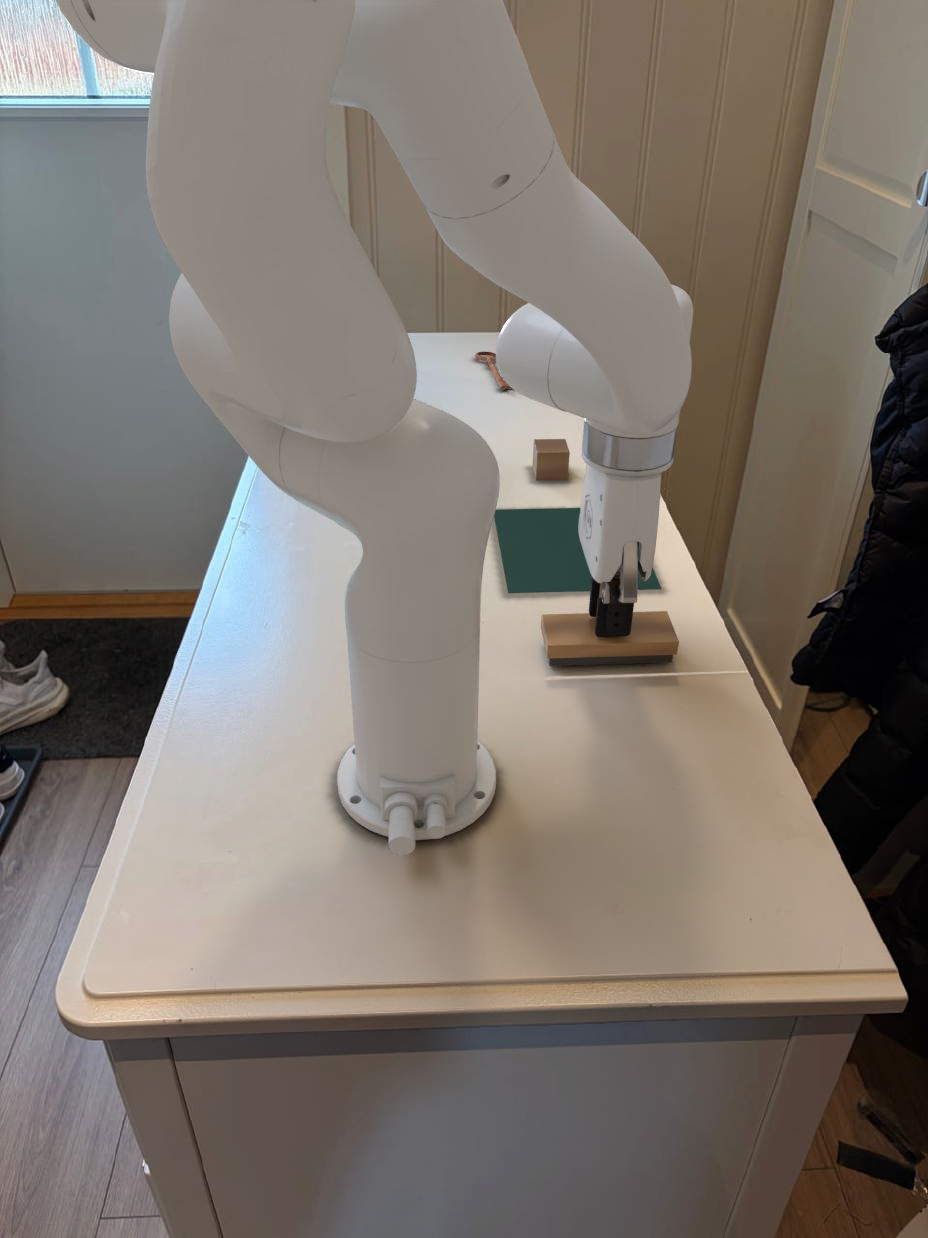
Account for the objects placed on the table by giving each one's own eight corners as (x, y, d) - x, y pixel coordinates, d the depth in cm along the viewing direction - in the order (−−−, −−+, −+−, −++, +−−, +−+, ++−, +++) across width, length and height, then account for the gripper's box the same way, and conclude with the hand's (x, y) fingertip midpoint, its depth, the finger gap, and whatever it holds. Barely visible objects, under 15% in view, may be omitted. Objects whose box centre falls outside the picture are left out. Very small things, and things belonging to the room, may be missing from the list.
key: (527, 391, 148) (507, 356, 160) (528, 385, 148) (508, 350, 160) (489, 390, 147) (472, 354, 159) (490, 384, 146) (473, 349, 159)
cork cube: (567, 481, 123) (569, 452, 121) (535, 482, 123) (537, 452, 121) (563, 467, 126) (565, 438, 124) (532, 468, 126) (533, 439, 124)
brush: (675, 663, 91) (688, 586, 86) (546, 667, 90) (551, 589, 86) (664, 632, 95) (675, 556, 90) (540, 635, 94) (544, 559, 90)
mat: (661, 591, 102) (661, 588, 102) (508, 595, 102) (508, 592, 101) (626, 508, 117) (627, 506, 117) (492, 511, 116) (492, 509, 116)
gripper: (568, 402, 87) (556, 579, 97) (600, 487, 74) (582, 680, 84) (652, 401, 87) (631, 576, 98) (699, 484, 74) (669, 677, 85)
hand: (609, 623), depth 91 cm, fingers closed on brush, 2 cm apart
